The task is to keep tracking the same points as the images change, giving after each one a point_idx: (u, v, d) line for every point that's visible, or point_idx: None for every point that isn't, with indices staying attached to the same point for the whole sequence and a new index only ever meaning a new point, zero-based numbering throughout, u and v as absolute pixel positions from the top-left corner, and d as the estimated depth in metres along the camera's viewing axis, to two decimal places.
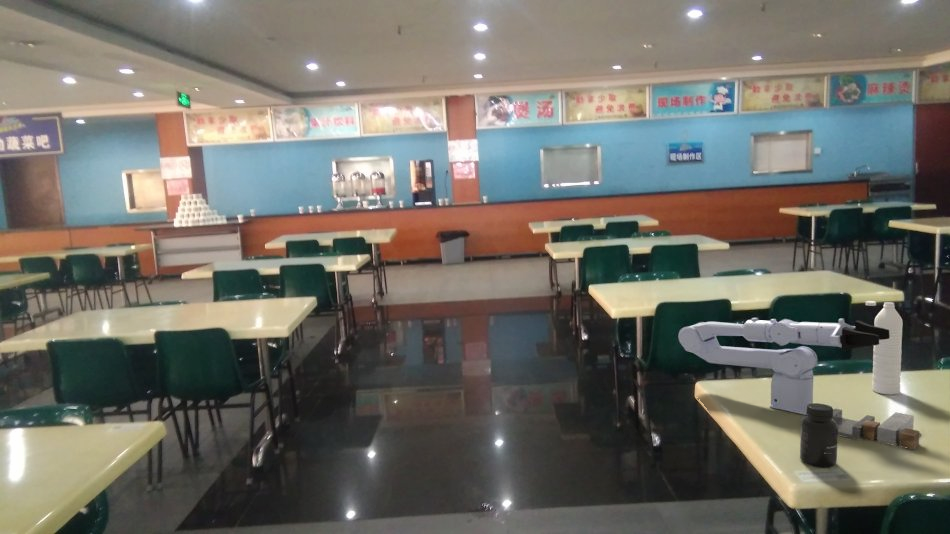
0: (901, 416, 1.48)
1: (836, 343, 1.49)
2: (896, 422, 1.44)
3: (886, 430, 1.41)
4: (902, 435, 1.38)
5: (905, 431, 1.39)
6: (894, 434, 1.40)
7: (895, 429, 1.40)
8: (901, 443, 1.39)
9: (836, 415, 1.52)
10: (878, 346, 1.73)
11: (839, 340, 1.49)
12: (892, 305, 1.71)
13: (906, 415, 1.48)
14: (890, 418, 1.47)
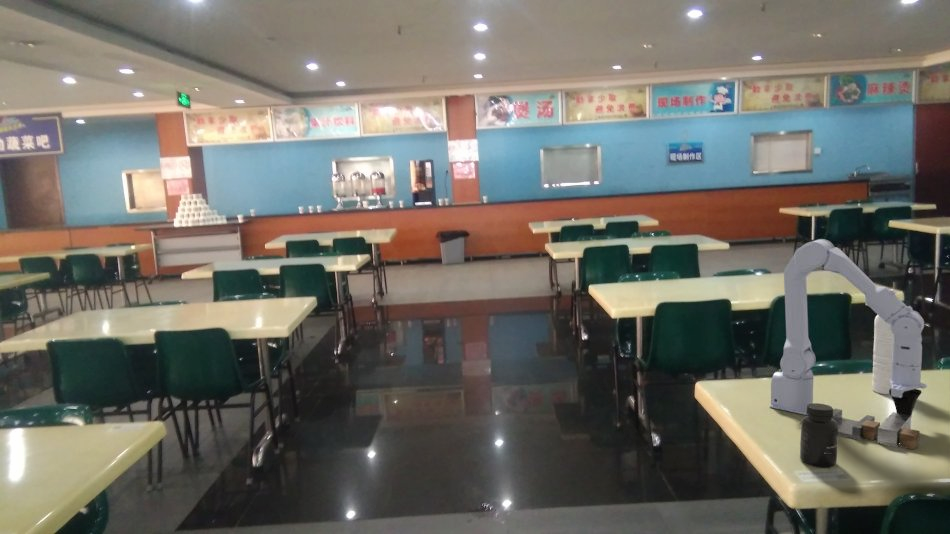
0: (899, 416, 1.47)
1: (892, 394, 1.44)
2: (895, 422, 1.43)
3: (886, 431, 1.40)
4: (902, 435, 1.38)
5: (905, 431, 1.39)
6: (895, 435, 1.38)
7: (896, 430, 1.39)
8: (901, 443, 1.39)
9: (836, 415, 1.52)
10: (878, 346, 1.73)
11: None
12: None
13: (904, 415, 1.47)
14: (889, 418, 1.46)
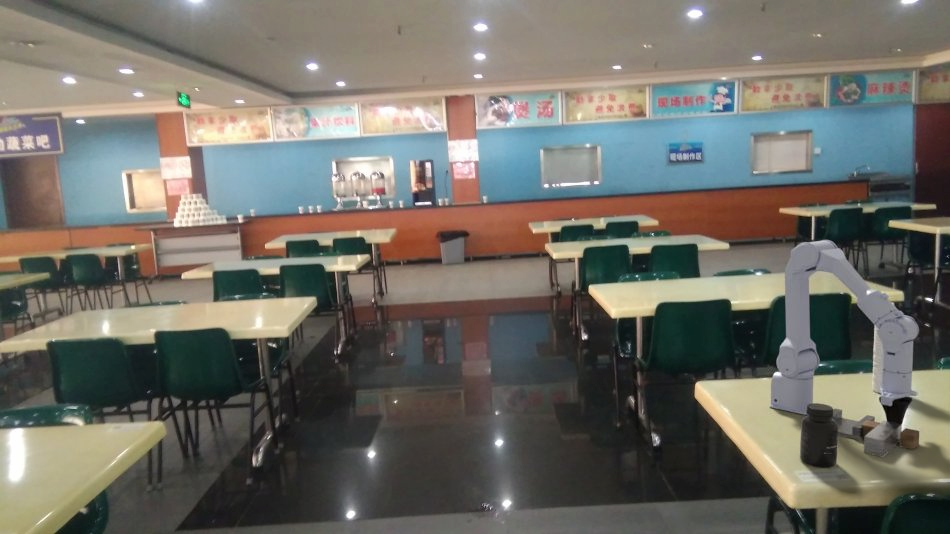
0: (889, 424, 1.42)
1: (882, 402, 1.39)
2: (883, 431, 1.38)
3: (873, 440, 1.35)
4: (902, 435, 1.38)
5: (905, 431, 1.39)
6: (881, 444, 1.34)
7: (882, 439, 1.34)
8: (901, 443, 1.39)
9: (836, 415, 1.52)
10: (878, 346, 1.73)
11: None
12: None
13: (894, 423, 1.42)
14: (877, 427, 1.41)
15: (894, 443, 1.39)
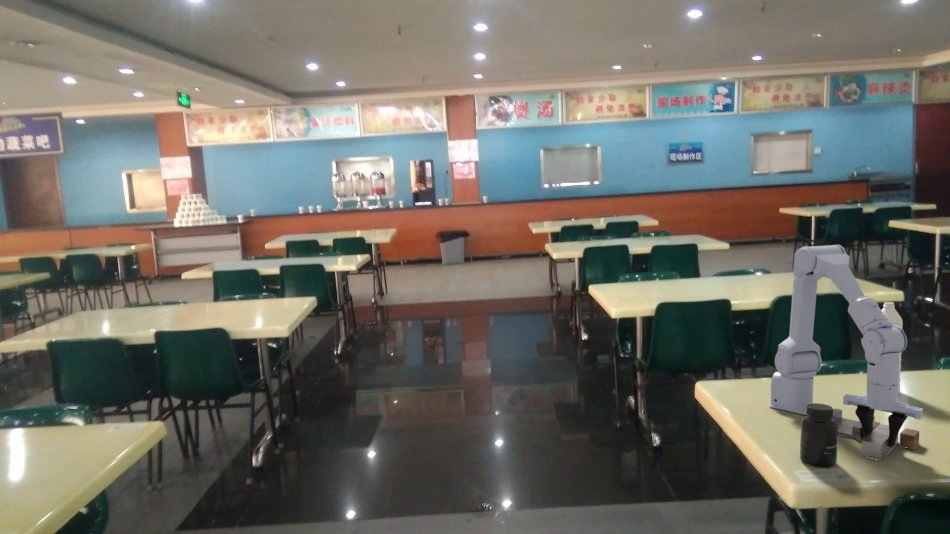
0: (885, 428, 1.40)
1: None
2: (880, 435, 1.37)
3: (870, 444, 1.33)
4: (902, 435, 1.38)
5: (905, 431, 1.39)
6: (879, 448, 1.32)
7: (880, 443, 1.33)
8: (901, 443, 1.39)
9: (836, 415, 1.52)
10: None
11: None
12: (892, 305, 1.71)
13: None
14: (874, 430, 1.39)
15: (891, 447, 1.38)
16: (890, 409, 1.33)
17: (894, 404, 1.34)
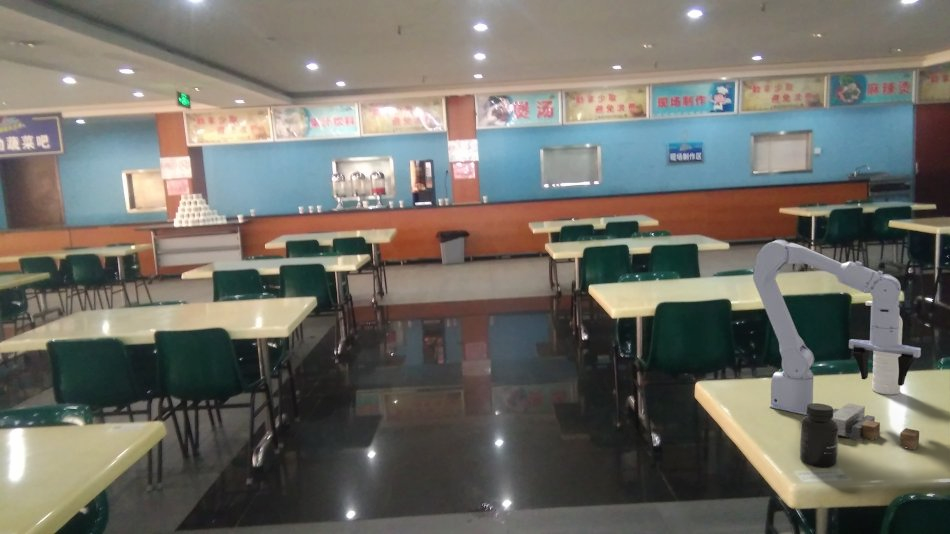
0: (852, 407, 1.52)
1: None
2: (846, 412, 1.48)
3: (836, 420, 1.45)
4: (902, 435, 1.38)
5: (905, 431, 1.39)
6: (843, 424, 1.44)
7: (844, 419, 1.44)
8: (901, 443, 1.39)
9: None
10: None
11: None
12: None
13: (857, 406, 1.52)
14: (841, 409, 1.51)
15: None
16: (891, 349, 1.48)
17: (895, 345, 1.49)
